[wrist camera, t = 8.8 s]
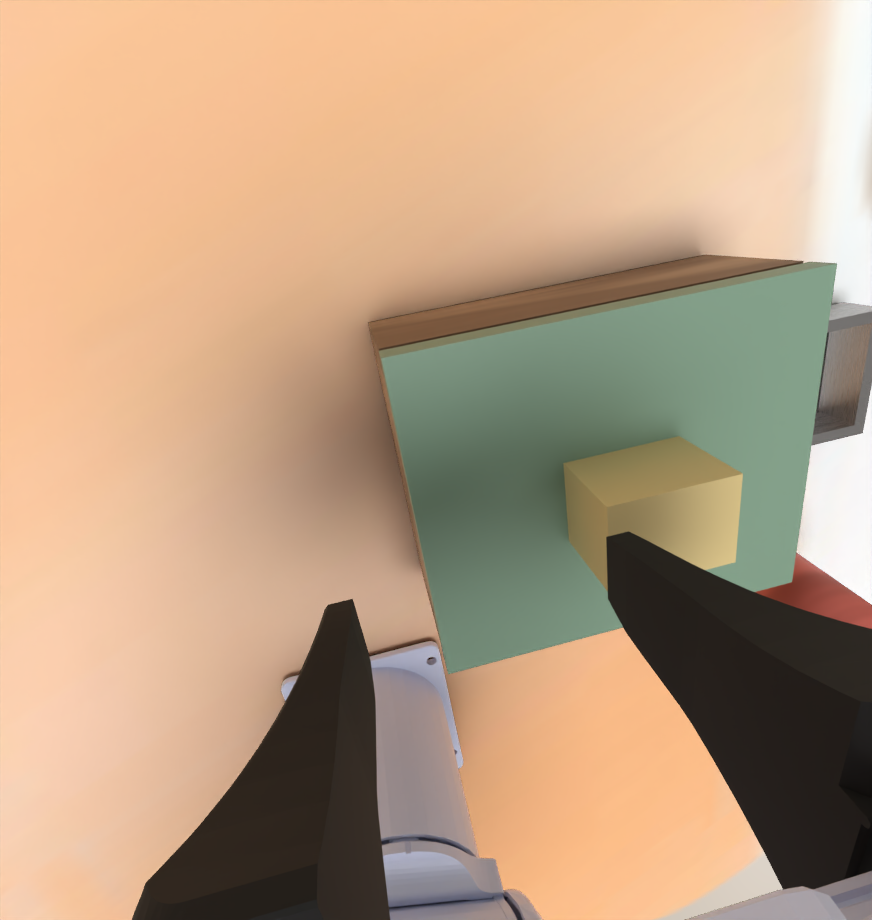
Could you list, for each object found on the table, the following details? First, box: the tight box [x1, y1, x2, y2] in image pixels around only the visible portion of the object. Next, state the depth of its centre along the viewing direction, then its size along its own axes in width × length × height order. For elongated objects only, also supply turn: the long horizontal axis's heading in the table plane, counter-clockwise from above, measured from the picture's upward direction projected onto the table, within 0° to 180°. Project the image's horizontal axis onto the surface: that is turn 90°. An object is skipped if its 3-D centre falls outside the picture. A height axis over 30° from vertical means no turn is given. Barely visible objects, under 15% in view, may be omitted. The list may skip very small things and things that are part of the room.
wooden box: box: [368, 255, 803, 638], centre depth 21 cm, size 12×14×5 cm
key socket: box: [811, 302, 872, 445], centre depth 24 cm, size 6×6×2 cm
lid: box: [379, 262, 837, 674], centre depth 17 cm, size 12×14×4 cm
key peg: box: [755, 553, 872, 629], centre depth 25 cm, size 4×4×8 cm
